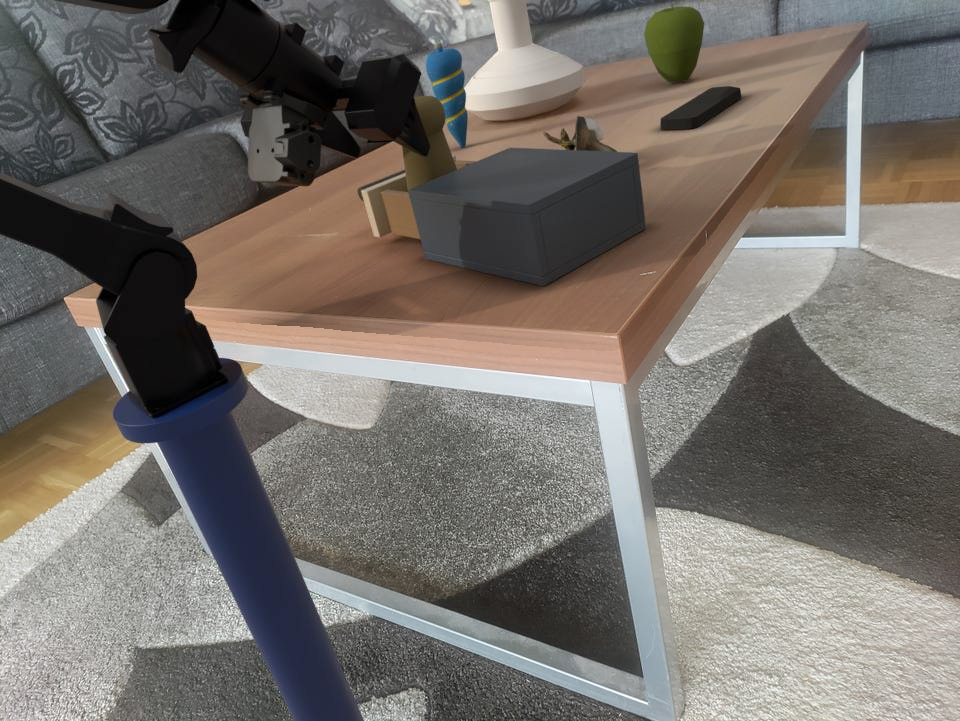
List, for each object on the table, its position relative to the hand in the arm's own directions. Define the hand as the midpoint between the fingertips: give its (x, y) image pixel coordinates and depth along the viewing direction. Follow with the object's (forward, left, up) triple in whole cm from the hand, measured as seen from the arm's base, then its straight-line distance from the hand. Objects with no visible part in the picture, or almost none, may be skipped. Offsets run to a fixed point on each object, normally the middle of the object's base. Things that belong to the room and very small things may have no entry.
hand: (391, 152), depth 69 cm
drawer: (+4, 0, -8) cm, 9 cm away
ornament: (+29, +28, -9) cm, 42 cm away
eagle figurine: (+23, -2, -9) cm, 25 cm away
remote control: (+47, 0, -9) cm, 48 cm away
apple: (+64, +16, -9) cm, 67 cm away
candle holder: (+48, +34, -9) cm, 60 cm away
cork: (+4, +1, -7) cm, 9 cm away
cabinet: (+4, -12, -9) cm, 16 cm away
